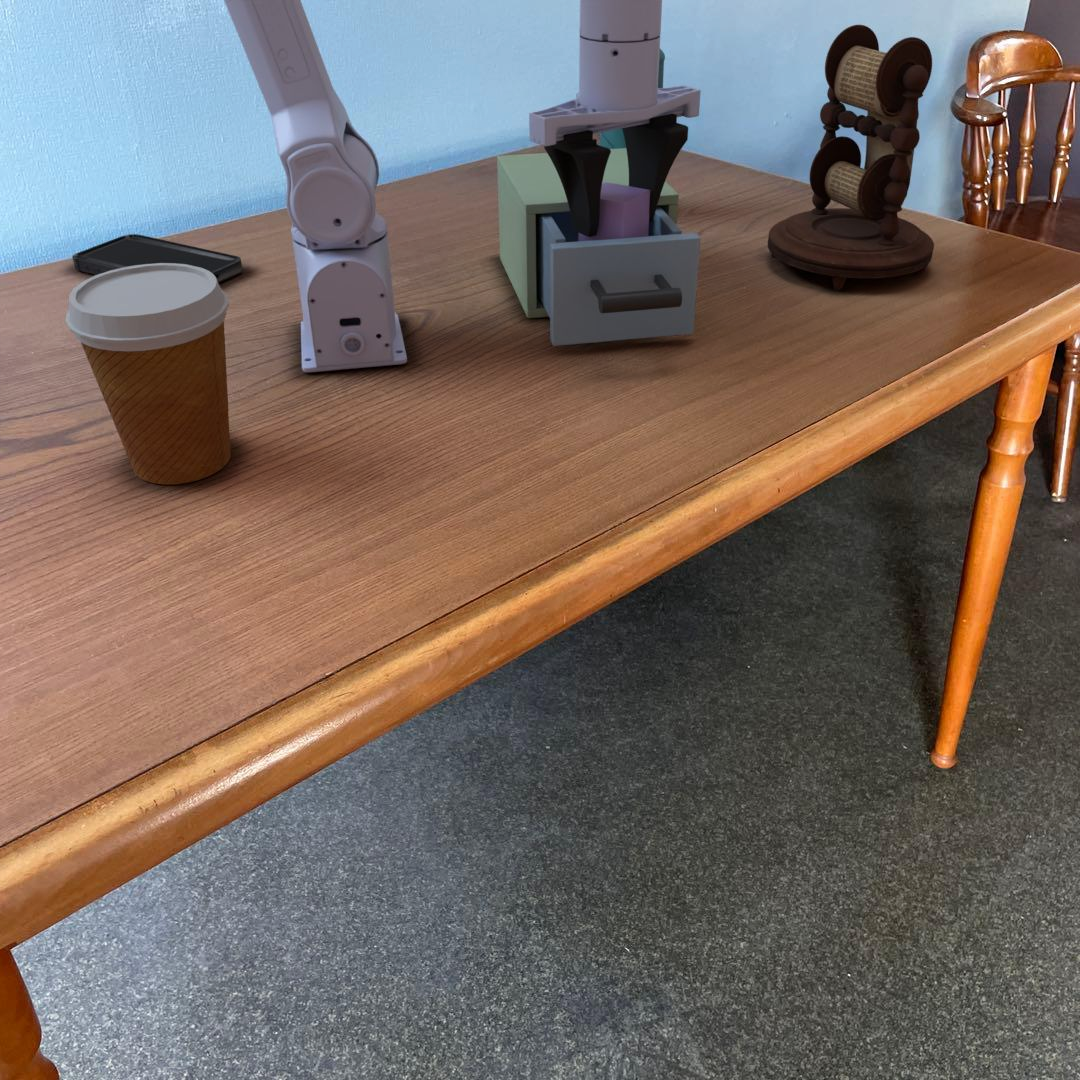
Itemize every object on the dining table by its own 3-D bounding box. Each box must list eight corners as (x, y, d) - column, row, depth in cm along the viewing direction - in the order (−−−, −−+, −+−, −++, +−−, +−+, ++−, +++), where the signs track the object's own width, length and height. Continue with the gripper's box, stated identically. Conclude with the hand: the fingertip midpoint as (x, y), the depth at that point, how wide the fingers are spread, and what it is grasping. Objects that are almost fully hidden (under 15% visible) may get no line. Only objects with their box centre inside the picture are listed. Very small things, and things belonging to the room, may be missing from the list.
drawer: (712, 358, 83) (721, 258, 78) (565, 372, 81) (566, 271, 76) (648, 273, 97) (652, 185, 93) (522, 283, 96) (521, 194, 91)
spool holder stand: (963, 277, 98) (1016, 37, 87) (832, 305, 93) (870, 54, 82) (858, 229, 109) (892, 11, 98) (734, 252, 104) (756, 24, 93)
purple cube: (648, 240, 86) (650, 189, 84) (622, 255, 83) (624, 203, 81) (604, 231, 88) (606, 181, 85) (578, 246, 85) (578, 194, 83)
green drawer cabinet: (671, 306, 93) (678, 194, 88) (527, 318, 92) (525, 204, 86) (628, 249, 105) (632, 147, 100) (500, 259, 103) (496, 155, 98)
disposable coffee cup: (81, 461, 72) (32, 288, 66) (209, 413, 78) (175, 249, 71) (151, 516, 67) (106, 333, 60) (283, 460, 72) (255, 287, 65)
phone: (130, 232, 107) (246, 257, 101) (133, 244, 107) (248, 269, 101) (65, 257, 101) (183, 285, 95) (68, 269, 102) (186, 297, 96)
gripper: (661, 17, 83) (652, 195, 91) (503, 38, 76) (508, 230, 84) (725, 29, 78) (710, 217, 86) (562, 54, 71) (562, 255, 79)
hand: (614, 225), depth 85 cm, fingers closed on purple cube, 5 cm apart
